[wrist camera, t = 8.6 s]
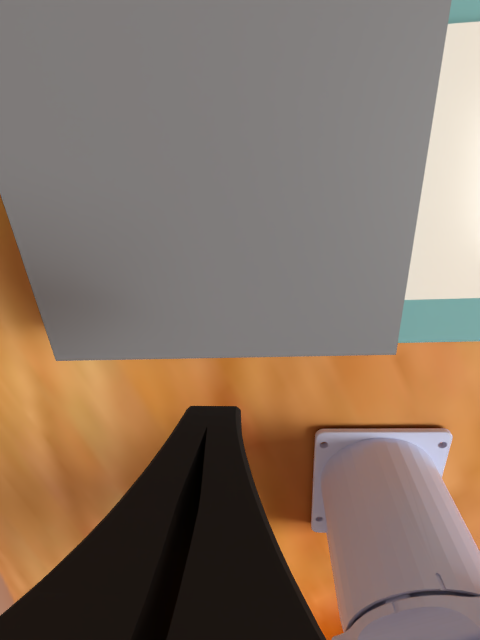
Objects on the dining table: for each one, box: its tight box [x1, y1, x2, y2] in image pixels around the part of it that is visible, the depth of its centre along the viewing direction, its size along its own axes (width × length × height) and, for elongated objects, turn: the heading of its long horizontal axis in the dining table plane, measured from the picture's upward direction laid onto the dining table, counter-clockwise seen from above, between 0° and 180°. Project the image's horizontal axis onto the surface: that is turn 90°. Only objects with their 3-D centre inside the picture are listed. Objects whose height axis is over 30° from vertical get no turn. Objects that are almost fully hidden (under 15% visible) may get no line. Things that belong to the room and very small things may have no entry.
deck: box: [0, 0, 452, 361], centre depth 15 cm, size 14×16×3 cm
